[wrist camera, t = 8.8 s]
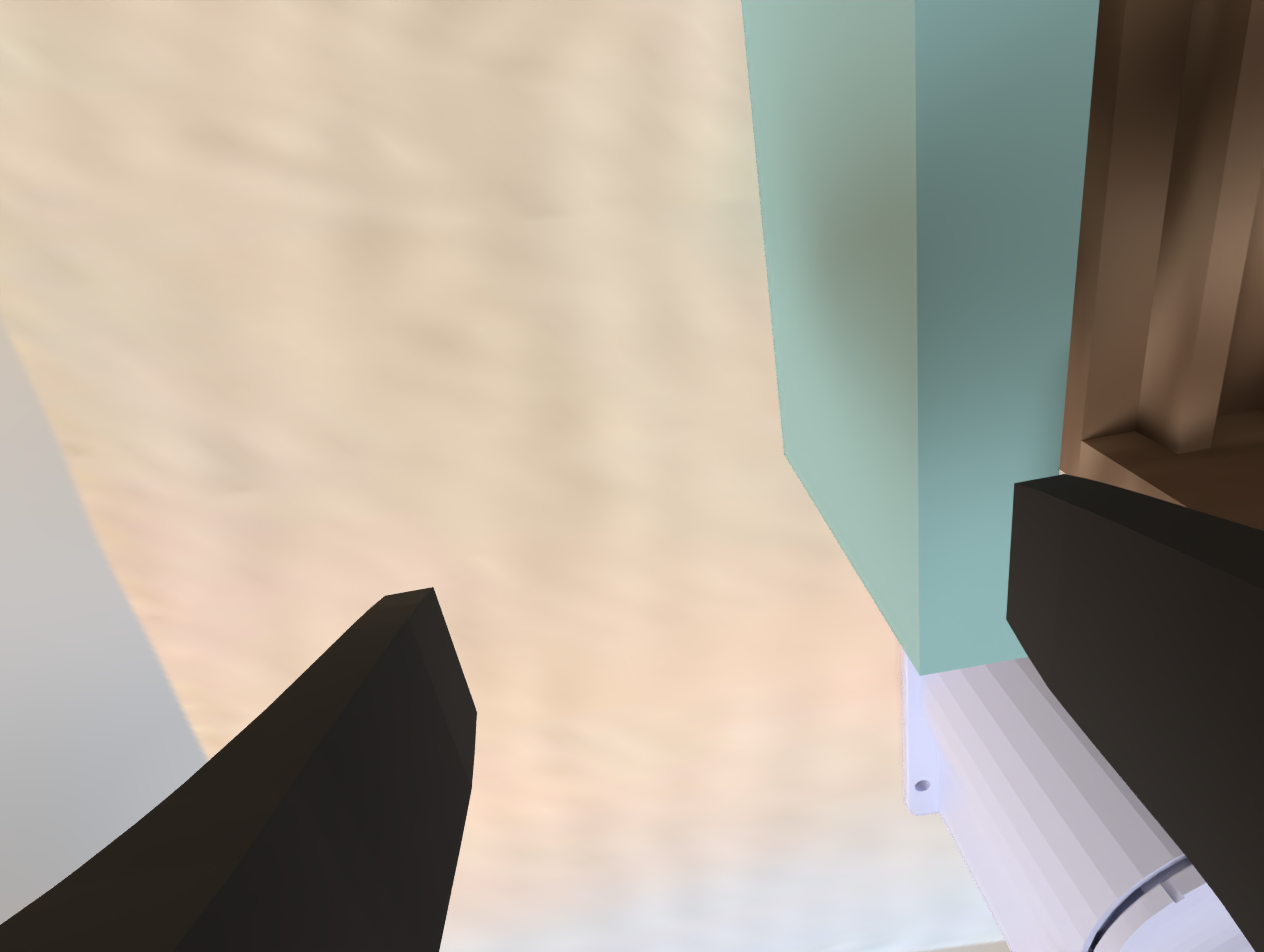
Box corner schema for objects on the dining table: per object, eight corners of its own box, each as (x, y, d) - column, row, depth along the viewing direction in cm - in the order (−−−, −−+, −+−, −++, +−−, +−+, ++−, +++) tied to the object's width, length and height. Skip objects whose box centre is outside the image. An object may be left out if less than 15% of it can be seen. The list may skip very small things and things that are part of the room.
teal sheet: (856, 439, 20) (1043, 654, 12) (783, 453, 20) (919, 675, 12) (830, -102, 15) (1132, -385, 7) (732, -82, 15) (912, -340, 7)
